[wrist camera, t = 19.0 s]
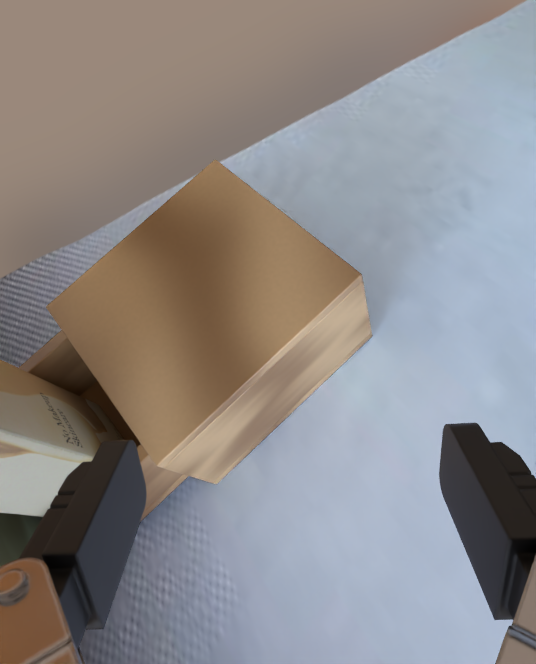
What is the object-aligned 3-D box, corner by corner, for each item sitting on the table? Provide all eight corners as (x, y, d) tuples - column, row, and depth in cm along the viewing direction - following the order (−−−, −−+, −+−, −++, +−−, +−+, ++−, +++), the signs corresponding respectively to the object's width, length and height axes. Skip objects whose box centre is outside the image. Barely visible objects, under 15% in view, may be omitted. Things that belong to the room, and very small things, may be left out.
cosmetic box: (148, 472, 28) (-9, 428, 18) (93, 524, 28) (-103, 513, 17) (96, 399, 31) (-66, 323, 21) (46, 445, 31) (-146, 393, 20)
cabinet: (216, 485, 29) (156, 466, 22) (117, 354, 35) (45, 306, 28) (372, 336, 30) (362, 274, 23) (252, 233, 36) (215, 158, 29)
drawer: (11, 659, 27) (-89, 689, 22) (-52, 505, 32) (-146, 497, 27) (232, 450, 29) (191, 428, 23) (138, 334, 34) (87, 294, 28)
